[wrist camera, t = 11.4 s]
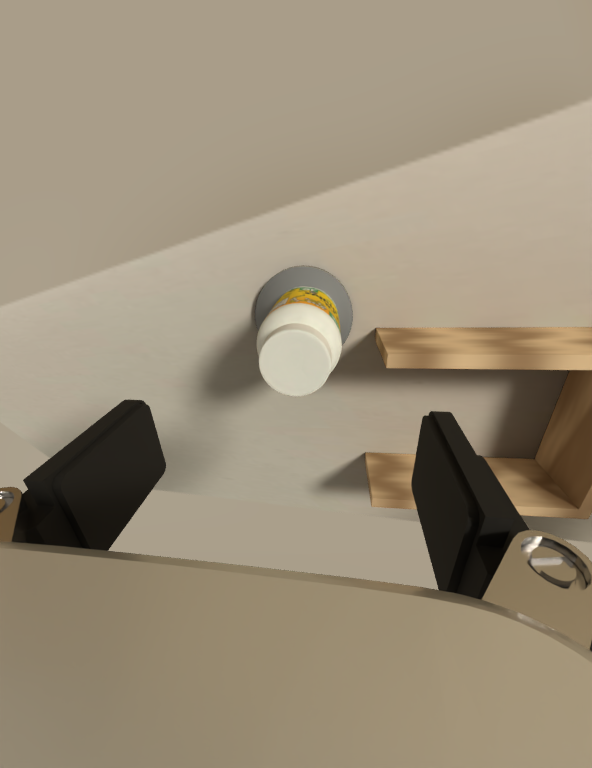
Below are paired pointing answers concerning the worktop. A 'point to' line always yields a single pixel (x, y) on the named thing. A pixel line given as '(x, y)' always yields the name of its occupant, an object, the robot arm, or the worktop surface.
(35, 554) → the robot arm
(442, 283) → the worktop surface
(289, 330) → the supplement bottle
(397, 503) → the wooden u-frame
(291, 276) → the slate coaster
